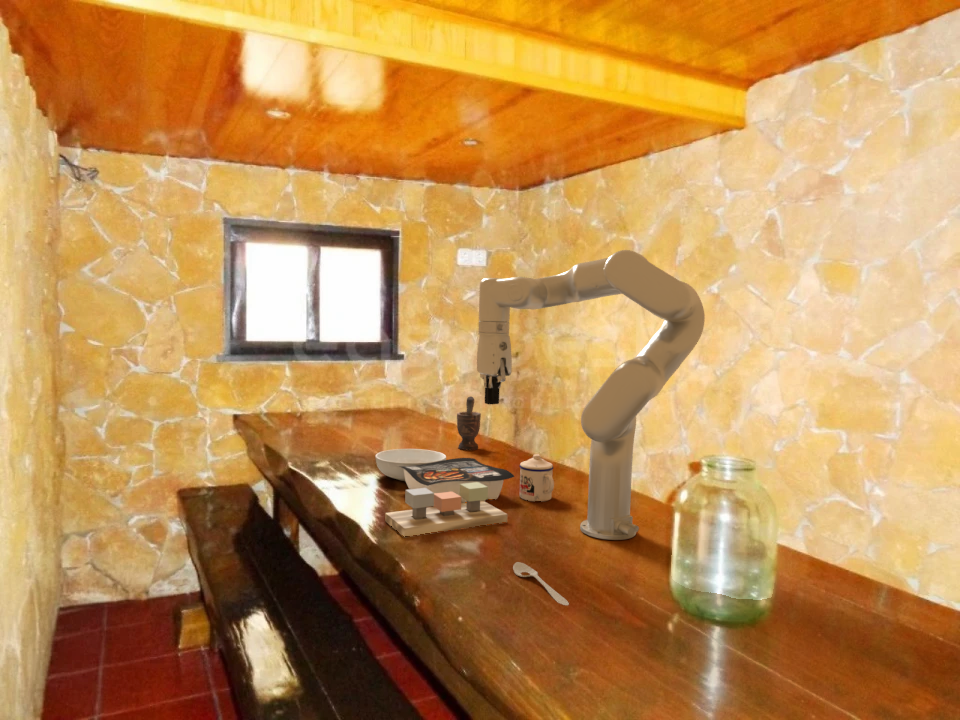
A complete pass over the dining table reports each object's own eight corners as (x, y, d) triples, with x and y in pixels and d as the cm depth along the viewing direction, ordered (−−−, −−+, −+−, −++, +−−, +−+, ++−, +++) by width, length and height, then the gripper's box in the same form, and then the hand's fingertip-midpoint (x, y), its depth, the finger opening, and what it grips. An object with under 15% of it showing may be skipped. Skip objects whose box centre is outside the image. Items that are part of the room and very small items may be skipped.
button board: (507, 522, 155) (507, 514, 155) (404, 537, 143) (404, 528, 142) (483, 508, 165) (483, 500, 165) (385, 521, 153) (385, 512, 153)
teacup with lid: (512, 495, 178) (513, 453, 178) (539, 491, 183) (540, 450, 182) (537, 506, 168) (539, 462, 167) (565, 502, 173) (567, 459, 172)
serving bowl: (455, 484, 189) (455, 460, 188) (383, 489, 181) (384, 464, 181) (434, 467, 208) (434, 446, 208) (368, 471, 201) (368, 449, 200)
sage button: (487, 510, 156) (487, 486, 156) (468, 513, 154) (469, 489, 153) (477, 505, 160) (478, 481, 160) (459, 507, 158) (459, 483, 158)
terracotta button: (460, 521, 153) (461, 496, 152) (441, 523, 151) (441, 499, 150) (451, 515, 157) (452, 491, 157) (432, 517, 155) (433, 493, 155)
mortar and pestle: (487, 452, 234) (488, 396, 233) (465, 453, 230) (466, 397, 229) (474, 445, 245) (475, 392, 243) (452, 447, 241) (453, 393, 240)
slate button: (433, 518, 149) (434, 493, 149) (413, 520, 147) (413, 495, 147) (424, 511, 154) (425, 487, 153) (404, 514, 152) (405, 489, 151)
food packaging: (427, 482, 161) (394, 463, 181) (427, 512, 161) (394, 490, 181) (514, 473, 173) (474, 456, 193) (513, 501, 173) (474, 481, 193)
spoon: (525, 568, 128) (526, 559, 128) (586, 612, 110) (587, 602, 110) (507, 571, 126) (507, 562, 126) (565, 616, 108) (566, 606, 108)
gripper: (523, 330, 155) (520, 407, 156) (492, 328, 168) (490, 399, 169) (495, 329, 151) (493, 408, 153) (466, 328, 164) (464, 400, 166)
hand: (491, 403), depth 161 cm, fingers closed
